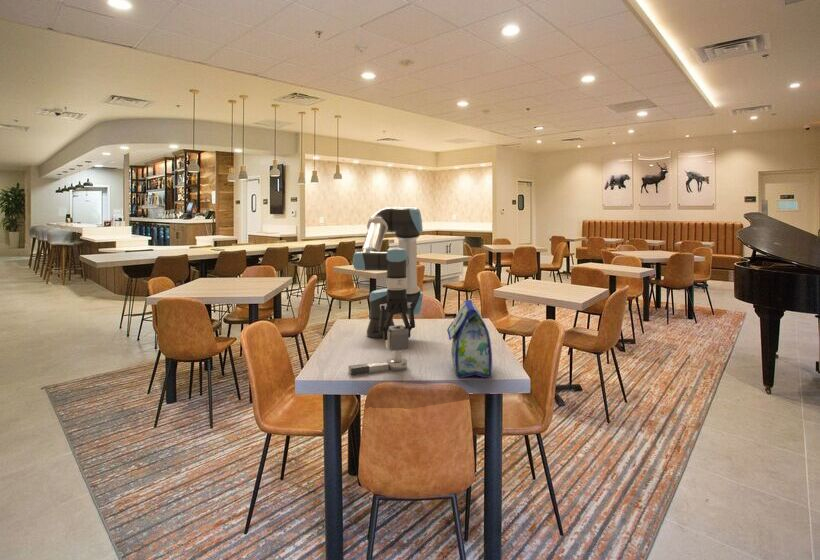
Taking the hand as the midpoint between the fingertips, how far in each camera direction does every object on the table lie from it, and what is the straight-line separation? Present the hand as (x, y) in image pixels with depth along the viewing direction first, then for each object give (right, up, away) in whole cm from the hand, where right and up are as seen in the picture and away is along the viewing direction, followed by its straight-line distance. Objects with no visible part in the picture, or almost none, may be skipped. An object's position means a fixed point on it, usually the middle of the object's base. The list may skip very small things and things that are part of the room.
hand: (396, 347), depth 186 cm
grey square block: (0, 0, 0) cm, 0 cm away
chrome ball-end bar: (-7, -9, -2) cm, 11 cm away
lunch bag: (+28, -9, -1) cm, 29 cm away
